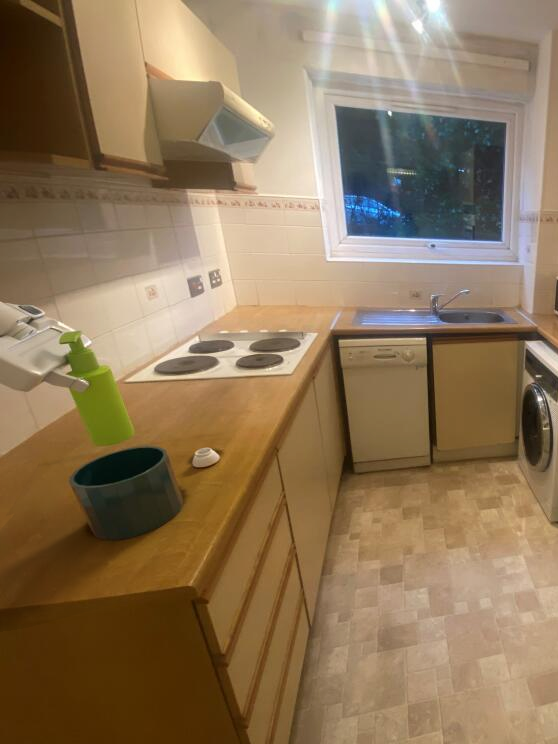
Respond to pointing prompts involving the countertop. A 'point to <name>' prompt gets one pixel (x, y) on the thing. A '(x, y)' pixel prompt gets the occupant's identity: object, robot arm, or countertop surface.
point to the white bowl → (205, 457)
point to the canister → (127, 492)
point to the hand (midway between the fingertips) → (96, 380)
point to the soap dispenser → (97, 395)
